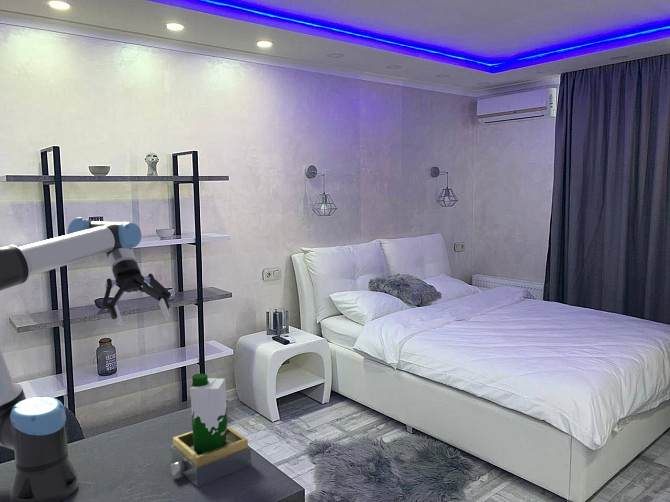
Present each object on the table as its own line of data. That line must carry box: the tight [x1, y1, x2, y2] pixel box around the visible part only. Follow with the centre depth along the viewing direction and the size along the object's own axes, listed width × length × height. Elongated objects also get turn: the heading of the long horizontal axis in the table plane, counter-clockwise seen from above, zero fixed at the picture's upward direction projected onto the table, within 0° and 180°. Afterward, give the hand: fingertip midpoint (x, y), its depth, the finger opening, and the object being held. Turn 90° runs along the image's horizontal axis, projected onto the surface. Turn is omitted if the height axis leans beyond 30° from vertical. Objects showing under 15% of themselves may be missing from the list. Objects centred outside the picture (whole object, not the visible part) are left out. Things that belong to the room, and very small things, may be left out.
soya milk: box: [189, 373, 228, 451], centre depth 143 cm, size 9×9×20 cm
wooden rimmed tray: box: [169, 425, 252, 488], centre depth 143 cm, size 19×16×8 cm
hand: (145, 322), depth 152 cm, fingers open, 13 cm apart
